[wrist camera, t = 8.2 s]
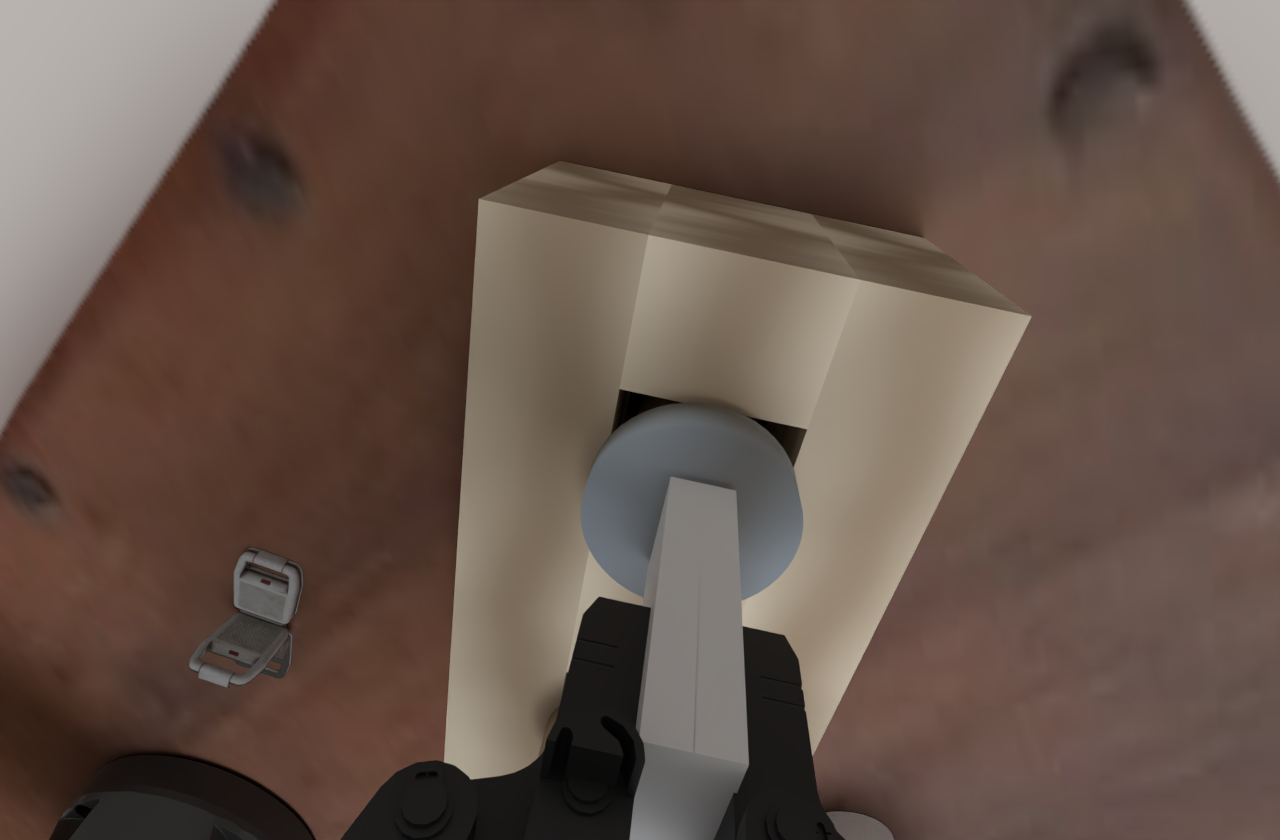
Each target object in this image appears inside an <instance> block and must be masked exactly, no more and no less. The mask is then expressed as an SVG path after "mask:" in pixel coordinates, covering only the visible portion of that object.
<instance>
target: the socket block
mask: <svg viewBox="0 0 1280 840" xmlns="http://www.w3.org/2000/svg"><path fill="white" fill-rule="evenodd" d="M1031 317H1032V316H1031V315H1029V314H1028V313H1027V312H1025V311H1024V310H1022V309H1021V308H1020V307H1018V306H1017V305H1016V304H1014V303H1013V302H1011V301H1010V300H1009V299H1007V298H1006V297H1005V296H1003V295H1002V294H1000V293H999V292H998V291H996V290H995V289H994V288H992V287H991V286H990V285H988V284H987V283H985V282H984V281H983V280H981V279H980V278H979V277H977V276H976V275H974V274H973V273H972V272H970V271H969V270H968V269H966V268H965V267H963V266H962V265H961V264H959V263H958V262H957V261H955V260H954V259H953V258H951V257H950V256H948V255H947V254H946V253H944V252H943V251H942V250H940V249H939V248H937V247H936V246H935V245H933V244H932V243H931V242H929V241H928V240H926V239H925V238H923V237H918V236H913V235H908V234H904V233H899V232H894V231H889V230H885V229H880V228H875V227H871V226H866V225H861V224H856V223H852V222H847V221H842V220H838V219H833V218H828V217H823V216H819V215H814V214H809V213H804V212H800V211H795V210H790V209H786V208H781V207H776V206H771V205H767V204H762V203H757V202H752V201H748V200H743V199H738V198H734V197H729V196H724V195H719V194H715V193H710V192H705V191H700V190H696V189H691V188H686V187H682V186H677V185H672V184H667V183H663V182H658V181H653V180H648V179H644V178H639V177H634V176H630V175H625V174H620V173H615V172H611V171H606V170H601V169H597V168H592V167H587V166H582V165H578V164H573V163H568V162H563V161H558V162H556V163H554V164H552V165H550V166H548V167H546V168H543V169H541V170H539V171H537V172H535V173H533V174H531V175H529V176H526V177H524V178H522V179H520V180H518V181H516V182H514V183H511V184H509V185H507V186H505V187H503V188H501V189H499V190H497V191H494V192H492V193H490V194H488V195H486V196H484V197H482V198H480V199H479V203H478V219H477V236H476V252H475V268H474V284H473V300H472V316H471V333H470V349H469V365H468V381H467V397H466V413H465V430H464V446H463V462H462V478H461V494H460V510H459V527H458V543H457V559H456V575H455V591H454V607H453V624H452V640H451V656H450V672H449V688H448V704H447V720H446V737H445V753H444V763H448V764H452V765H455V766H456V767H458V768H459V769H460V770H461V771H463V772H464V773H465V774H466V775H468V776H469V778H470V780H471V779H479V778H487V777H496V776H502V775H506V774H511V773H515V772H517V771H519V770H521V769H523V768H525V767H527V766H529V765H530V764H531V763H532V762H534V761H535V760H536V759H537V758H538V755H539V751H540V747H541V744H542V740H543V736H544V732H545V729H546V725H547V722H548V720H549V718H550V716H551V714H552V713H553V712H554V710H555V709H556V708H557V707H558V706H560V702H561V698H562V694H563V690H564V686H565V682H566V679H567V675H568V671H569V667H570V663H571V659H572V655H573V651H574V647H575V643H576V640H577V635H578V632H579V628H580V624H581V620H582V616H583V614H584V612H585V611H586V610H587V609H588V608H589V607H590V606H591V605H592V604H593V602H594V601H595V600H596V599H597V598H598V597H604V598H608V599H613V600H618V601H622V602H627V603H631V604H636V605H641V606H642V605H643V599H644V598H642V597H640V596H638V595H636V594H634V593H632V592H630V591H629V590H627V589H626V588H624V587H623V586H621V585H620V584H618V583H617V582H616V581H615V580H613V579H612V578H611V577H610V576H609V575H608V574H607V573H606V572H605V571H604V570H603V569H602V568H601V567H600V565H599V564H598V563H597V561H596V560H595V559H594V557H593V555H592V553H591V552H590V550H589V548H588V546H587V543H586V541H585V538H584V535H583V531H582V526H581V515H580V512H581V501H582V497H583V494H584V490H585V487H586V484H587V481H588V478H589V475H590V472H591V468H592V465H593V463H594V460H595V458H596V456H597V453H598V451H599V450H600V448H601V447H602V445H603V444H604V442H605V441H606V440H607V439H608V437H609V436H610V435H611V434H612V433H613V432H614V431H615V430H616V429H617V428H619V427H620V426H621V425H622V424H623V423H625V422H627V421H628V420H630V419H631V418H633V417H635V416H637V415H638V411H636V410H631V409H628V404H629V399H630V394H631V392H636V393H640V394H645V395H650V396H654V397H659V398H664V399H668V400H673V401H678V402H682V403H703V404H710V405H716V406H720V407H723V408H727V409H731V410H733V411H735V412H738V413H740V414H743V415H745V416H748V417H752V418H756V422H757V423H758V424H759V425H761V426H762V427H763V428H765V429H766V430H767V431H768V432H769V433H770V434H771V435H772V436H773V437H774V438H775V439H776V440H777V441H778V442H779V443H780V445H781V446H782V447H783V449H784V450H785V452H786V454H787V455H788V457H789V459H790V461H791V463H792V466H793V469H794V471H795V476H796V481H797V486H798V491H799V496H800V500H801V505H802V510H803V532H802V538H801V542H800V545H799V548H798V550H797V553H796V555H795V557H794V559H793V560H792V562H791V563H790V565H789V566H788V568H787V569H786V570H785V571H784V573H783V574H782V575H781V576H780V577H779V578H778V579H777V580H776V581H774V582H773V583H772V584H771V585H770V586H768V587H767V588H765V589H764V590H762V591H761V592H759V593H758V594H756V595H753V596H751V597H749V598H747V599H745V600H742V601H741V603H742V625H743V626H745V627H749V628H754V629H759V630H763V631H768V632H772V633H777V634H782V635H785V637H786V638H787V640H788V642H789V644H790V645H791V647H792V649H793V651H794V652H795V654H796V656H797V658H798V659H799V665H800V673H801V680H802V690H803V694H804V701H805V711H806V715H807V722H808V729H809V736H810V743H811V750H812V756H813V754H814V752H815V750H816V748H817V746H818V744H819V742H820V740H821V738H822V736H823V734H824V732H825V730H826V728H827V726H828V724H829V722H830V720H831V718H832V716H833V714H834V712H835V710H836V708H837V706H838V704H839V702H840V700H841V698H842V696H843V694H844V692H845V690H846V688H847V686H848V684H849V682H850V680H851V678H852V676H853V674H854V672H855V670H856V668H857V666H858V664H859V662H860V660H861V658H862V656H863V654H864V652H865V650H866V648H867V646H868V644H869V642H870V640H871V638H872V636H873V634H874V632H875V630H876V628H877V626H878V624H879V622H880V620H881V618H882V616H883V614H884V612H885V610H886V608H887V606H888V604H889V602H890V600H891V598H892V596H893V594H894V592H895V590H896V588H897V586H898V584H899V582H900V580H901V578H902V576H903V574H904V572H905V570H906V568H907V566H908V564H909V562H910V560H911V558H912V556H913V554H914V552H915V550H916V548H917V546H918V544H919V542H920V540H921V538H922V536H923V533H924V531H925V529H926V527H927V525H928V523H929V521H930V519H931V517H932V515H933V513H934V511H935V509H936V507H937V505H938V503H939V501H940V499H941V497H942V495H943V493H944V491H945V489H946V487H947V485H948V483H949V481H950V479H951V477H952V475H953V473H954V471H955V469H956V467H957V465H958V463H959V461H960V459H961V457H962V455H963V453H964V451H965V449H966V447H967V445H968V443H969V441H970V439H971V437H972V435H973V433H974V431H975V429H976V427H977V425H978V423H979V421H980V419H981V417H982V415H983V413H984V411H985V409H986V407H987V405H988V403H989V401H990V399H991V397H992V395H993V393H994V391H995V389H996V387H997V385H998V383H999V381H1000V379H1001V377H1002V375H1003V373H1004V371H1005V369H1006V367H1007V365H1008V363H1009V361H1010V359H1011V357H1012V355H1013V353H1014V351H1015V349H1016V347H1017V345H1018V343H1019V341H1020V339H1021V337H1022V335H1023V333H1024V331H1025V329H1026V327H1027V325H1028V323H1029V321H1030V319H1031Z"/></svg>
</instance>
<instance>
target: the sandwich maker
mask: <svg viewBox="0 0 1280 840" xmlns="http://www.w3.org/2000/svg"><path fill="white" fill-rule="evenodd" d="M250 562H252V563H255V564H258V565H260V566H263V567H266V568H269V569H272V570H275V571H277V572H280V573H283V574H285V575H287V576H288V577H289V579H287V578H284V577H281V576H278V575H275V574H272V573H270V572H267V571H264V570H261V569H258V568H255V567H253V566H250V565H249V564H250ZM302 588H303V570H302V568H301V566H300V565H299V564H297V563H295V562H293V561H290V560H288V559H286V558H283V557H280V556H277V555H274V554H272V553H269V552H266V551H263V550H259V549H256V548H248V549H247V550H246V551H245V552H244V553H243V554H242V555H241V556H240V558H239V560H238V563H237V565H236V568H235V570H234V606H235V607H237V608H239V609H241V610H240V612H243V613H244V614H243V613H236V614H234V615H233V616H232V617H231V618H229V619H228V620H227V621H226V622H225V623H224V624H222V625H221V626H220V627H219V628H218V629H216V630H215V631H214V632H213V633H212V634H211V635H209V636H208V637H207V638H206V639H205V640H203V641H202V642H201V644H200V645H199V647H198V648H197V650H196V651H195V652H194V654H193V655H192V657H191V658H190V662H189V669H190V670H192V671H194V672H197V673H199V674H198V678H200V679H203V680H206V681H209V682H212V683H215V684H218V685H221V686H224V687H227V688H229V687H230V686H229V683H230V684H233V685H236V686H242V685H245V684H247V683H249V682H250V681H251V680H253V679H254V678H255V677H256V676H257V675H258V674H260V673H264V674H267V675H270V676H273V677H276V678H283V677H284V676H285V675H286V673H287V671H288V669H289V666H290V664H291V649H292V634H291V633H289V632H288V630H287V625H285V624H287V623H289V621H290V620H291V619H292V618H293V616H294V615H295V614H296V612H297V608H298V604H299V600H300V596H301V592H302ZM207 651H209V652H212V653H215V654H218V655H221V656H224V657H227V658H230V659H233V660H235V662H236V663H237V664H239V665H240V666H243V667H246V668H249V670H247V671H246V672H245V673H244V674H238V673H235V672H232V671H229V670H226V669H223V668H220V667H217V666H214V665H211V664H208V663H205V662H203V661H201V658H202V657H203V656H204V655H205V653H206V652H207ZM270 661H274V662H277V663H280V664H282V666H281V669H280V671H277V670H274V669H271V668H268V667H266V666H267V665H268V663H269V662H270Z"/></svg>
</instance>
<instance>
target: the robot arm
mask: <svg viewBox="0 0 1280 840" xmlns="http://www.w3.org/2000/svg"><path fill="white" fill-rule="evenodd" d="M49 840H313V839H312V837H311V835H310V834H309V832H308V830H307V829H306V828H305V826H304V825H303V824H302V823H301V821H300V820H299V819H298V818H297V817H296V816H295V815H294V814H293V813H292V812H291V811H290V810H289V809H288V808H287V807H285V806H284V805H283V804H282V803H280V802H279V801H278V800H277V799H275V798H274V797H272V796H271V795H269V794H268V793H267V792H265V791H263V790H262V789H260V788H258V787H257V786H255V785H253V784H251V783H250V782H248V781H246V780H244V779H242V778H240V777H237V776H235V775H233V774H231V773H228V772H226V771H224V770H221V769H218V768H216V767H212V766H209V765H206V764H203V763H200V762H196V761H192V760H188V759H183V758H177V757H171V756H161V755H137V756H129V757H124V758H121V759H117V760H114V761H112V762H110V763H108V764H106V765H105V766H103V767H102V768H101V769H100V770H98V771H97V773H96V774H95V775H94V776H93V777H92V778H91V779H90V780H89V781H88V783H87V784H86V785H85V786H84V787H83V788H82V789H81V790H80V791H79V793H78V794H77V795H76V796H75V797H74V798H73V799H72V800H71V802H70V803H69V804H68V806H67V807H66V809H65V810H64V812H63V814H62V816H61V818H60V819H59V821H58V823H57V825H56V827H55V829H54V831H53V833H52V835H51V837H50V839H49ZM341 840H845V839H844V838H843V837H842V836H841V835H840V834H839V833H838V832H837V830H836V829H835V826H834V824H833V822H832V821H831V819H830V818H829V816H828V815H827V814H826V812H825V811H824V809H823V807H822V805H821V803H820V799H819V795H818V791H817V786H816V779H815V771H814V764H813V757H812V750H811V743H810V736H809V729H808V722H807V715H806V711H805V701H804V694H803V690H802V680H801V673H800V665H799V659H798V658H797V656H796V654H795V652H794V651H793V649H792V647H791V645H790V644H789V642H788V640H787V638H786V637H785V635H782V634H777V633H772V632H768V631H763V630H759V629H754V628H749V627H745V626H743V625H742V603H741V582H740V560H739V539H738V517H737V495H736V490H731V489H727V488H722V487H717V486H713V485H708V484H703V483H699V482H694V481H689V480H685V479H680V478H676V477H670V481H669V485H668V489H667V493H666V497H665V501H664V505H663V509H662V514H661V518H660V522H659V526H658V530H657V534H656V538H655V542H654V546H653V550H652V554H651V558H650V562H649V566H648V571H647V578H646V585H645V592H644V599H643V605H642V606H641V605H636V604H631V603H627V602H622V601H618V600H613V599H608V598H604V597H598V598H597V599H596V600H595V601H594V602H593V604H592V605H591V606H590V607H589V608H588V609H587V610H586V611H585V612H584V614H583V616H582V620H581V624H580V628H579V632H578V635H577V640H576V643H575V647H574V651H573V655H572V659H571V663H570V667H569V671H568V675H567V679H566V682H565V686H564V690H563V694H562V698H561V702H560V706H559V710H558V714H557V718H556V722H555V723H554V725H553V727H552V729H551V731H550V733H549V735H548V737H547V739H546V743H545V749H544V751H543V752H542V754H541V755H540V757H538V758H537V759H536V760H535V761H534V762H532V763H531V764H530V765H529V766H527V767H525V768H523V769H521V770H519V771H517V772H515V773H511V774H506V775H502V776H496V777H487V778H479V779H471V780H470V778H469V776H468V775H466V774H465V773H464V772H463V771H461V770H460V769H459V768H458V767H456V766H455V765H452V764H448V763H444V762H441V761H437V760H436V761H427V762H418V763H415V764H412V765H410V766H408V767H406V768H404V769H402V770H400V771H398V772H396V773H395V774H394V775H393V776H392V777H391V778H390V779H389V780H388V781H387V782H386V783H385V784H384V785H382V786H381V787H380V789H379V790H378V791H377V793H376V794H375V795H374V797H373V798H372V799H371V800H370V802H369V803H368V804H367V806H366V807H365V808H364V810H363V811H362V812H361V814H360V815H359V816H358V817H357V819H356V820H355V821H354V823H353V824H352V825H351V827H350V828H349V829H348V830H347V832H346V833H345V834H344V836H343V837H342V838H341Z"/></svg>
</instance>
